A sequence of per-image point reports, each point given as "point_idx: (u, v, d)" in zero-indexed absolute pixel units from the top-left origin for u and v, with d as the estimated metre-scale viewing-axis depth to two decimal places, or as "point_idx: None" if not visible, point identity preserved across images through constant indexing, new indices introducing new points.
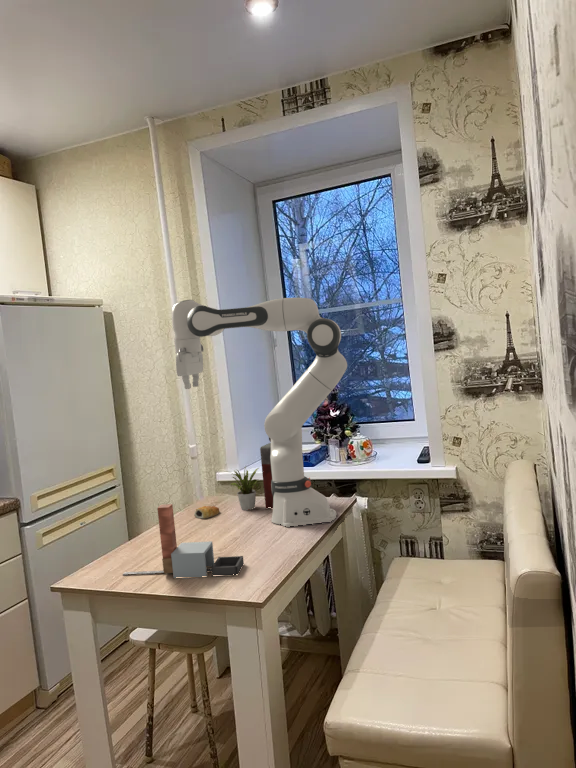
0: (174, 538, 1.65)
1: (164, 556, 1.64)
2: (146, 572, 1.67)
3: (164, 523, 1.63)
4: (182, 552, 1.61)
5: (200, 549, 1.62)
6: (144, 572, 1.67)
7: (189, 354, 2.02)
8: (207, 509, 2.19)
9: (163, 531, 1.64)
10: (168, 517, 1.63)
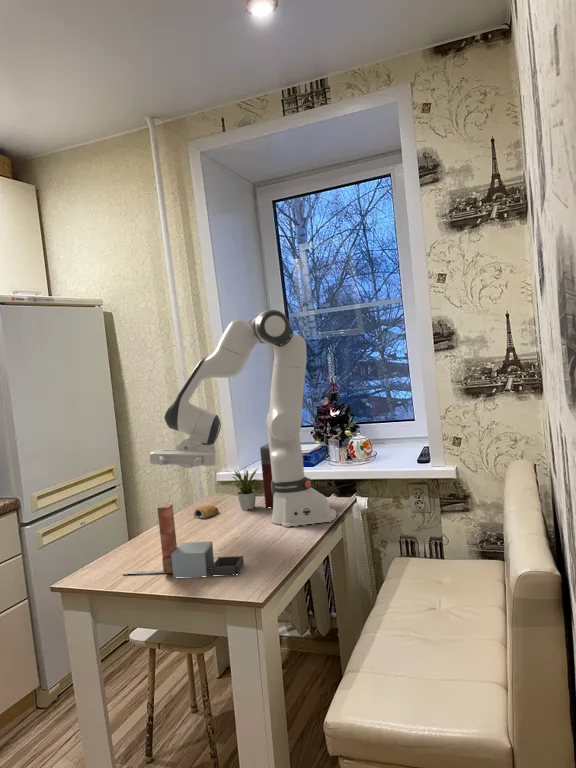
0: (174, 538, 1.65)
1: (164, 556, 1.64)
2: (146, 572, 1.67)
3: (164, 523, 1.63)
4: (182, 552, 1.61)
5: (200, 549, 1.62)
6: (144, 572, 1.67)
7: (171, 449, 1.90)
8: (206, 509, 2.19)
9: (163, 531, 1.64)
10: (168, 517, 1.63)
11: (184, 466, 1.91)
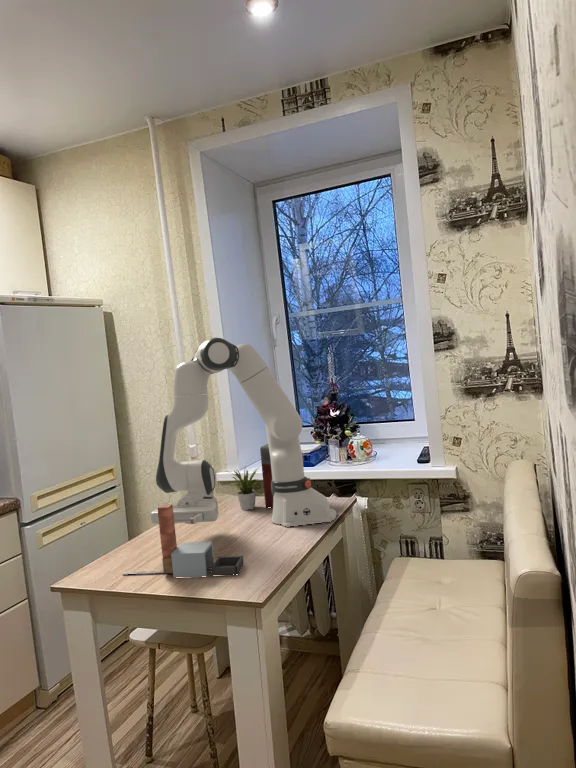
0: (174, 538, 1.65)
1: (164, 556, 1.64)
2: (146, 572, 1.67)
3: (164, 523, 1.63)
4: (182, 552, 1.61)
5: (200, 549, 1.62)
6: (144, 572, 1.67)
7: (173, 506, 1.86)
8: None
9: (163, 531, 1.64)
10: (168, 517, 1.63)
11: None
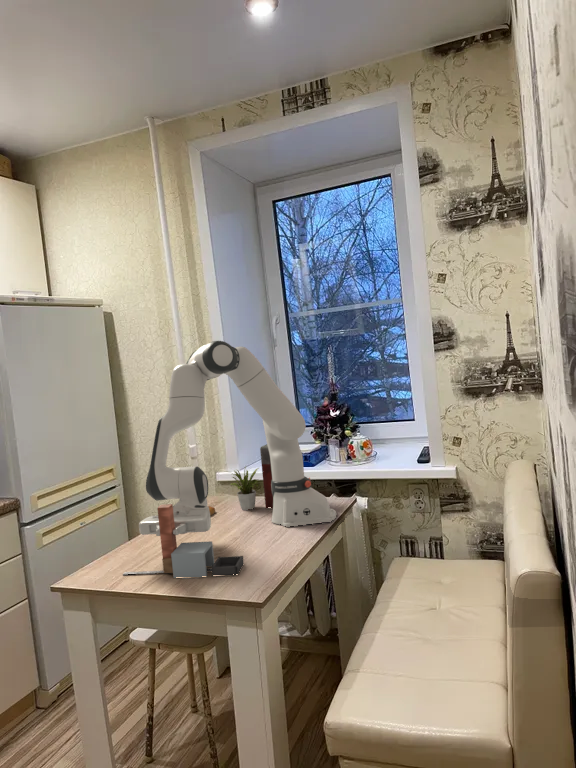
0: (174, 538, 1.65)
1: (164, 556, 1.64)
2: (146, 572, 1.67)
3: (164, 523, 1.63)
4: (182, 552, 1.61)
5: (200, 549, 1.62)
6: (144, 572, 1.67)
7: None
8: None
9: (163, 531, 1.64)
10: (168, 517, 1.63)
11: None
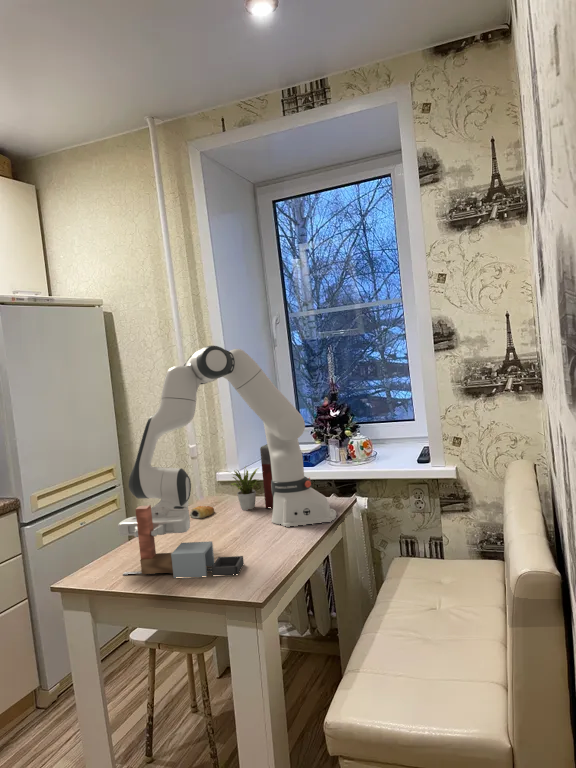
0: (152, 539, 1.66)
1: (142, 557, 1.65)
2: None
3: (142, 524, 1.64)
4: (182, 552, 1.61)
5: (200, 549, 1.62)
6: None
7: None
8: (203, 509, 2.19)
9: (141, 532, 1.64)
10: (146, 519, 1.64)
11: None
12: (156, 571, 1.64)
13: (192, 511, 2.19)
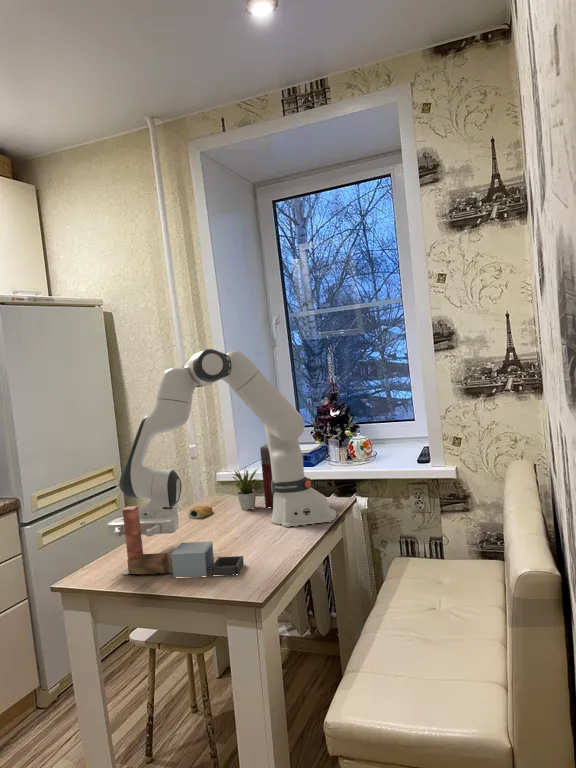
0: (139, 540, 1.67)
1: (129, 558, 1.66)
2: None
3: (129, 524, 1.65)
4: (182, 552, 1.61)
5: (200, 549, 1.62)
6: None
7: None
8: (202, 509, 2.19)
9: (128, 533, 1.65)
10: (133, 519, 1.65)
11: None
12: (143, 572, 1.65)
13: (191, 511, 2.19)
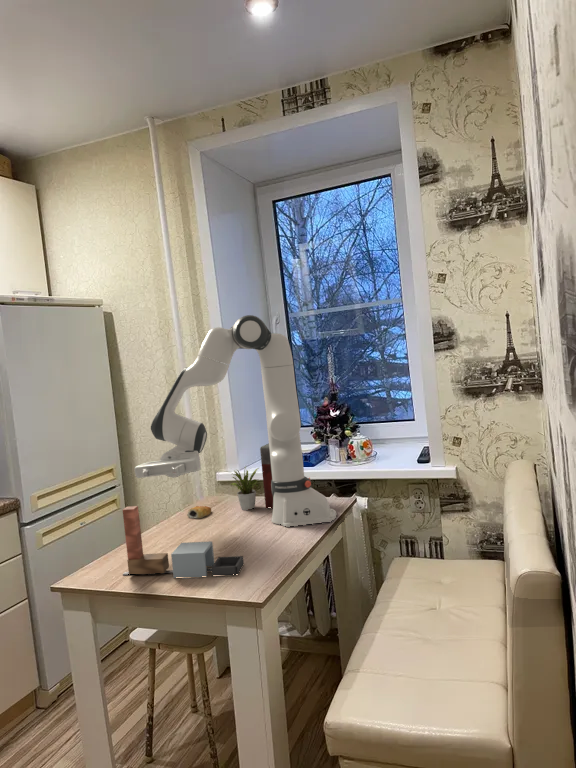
0: (139, 540, 1.67)
1: (129, 558, 1.66)
2: None
3: (129, 524, 1.65)
4: (182, 552, 1.61)
5: (200, 549, 1.62)
6: None
7: (156, 461, 1.92)
8: (201, 509, 2.20)
9: (128, 533, 1.65)
10: (133, 519, 1.65)
11: (171, 476, 1.93)
12: (143, 572, 1.65)
13: (190, 511, 2.19)
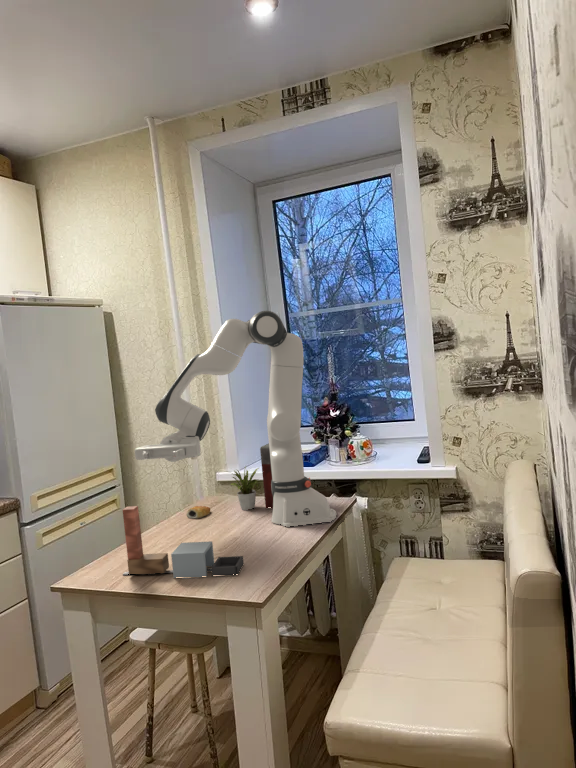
0: (139, 540, 1.67)
1: (129, 558, 1.66)
2: None
3: (129, 524, 1.65)
4: (182, 552, 1.61)
5: (200, 549, 1.62)
6: None
7: (157, 444, 1.93)
8: (200, 509, 2.20)
9: (128, 533, 1.65)
10: (133, 519, 1.65)
11: (171, 460, 1.93)
12: (143, 572, 1.65)
13: (189, 511, 2.19)
